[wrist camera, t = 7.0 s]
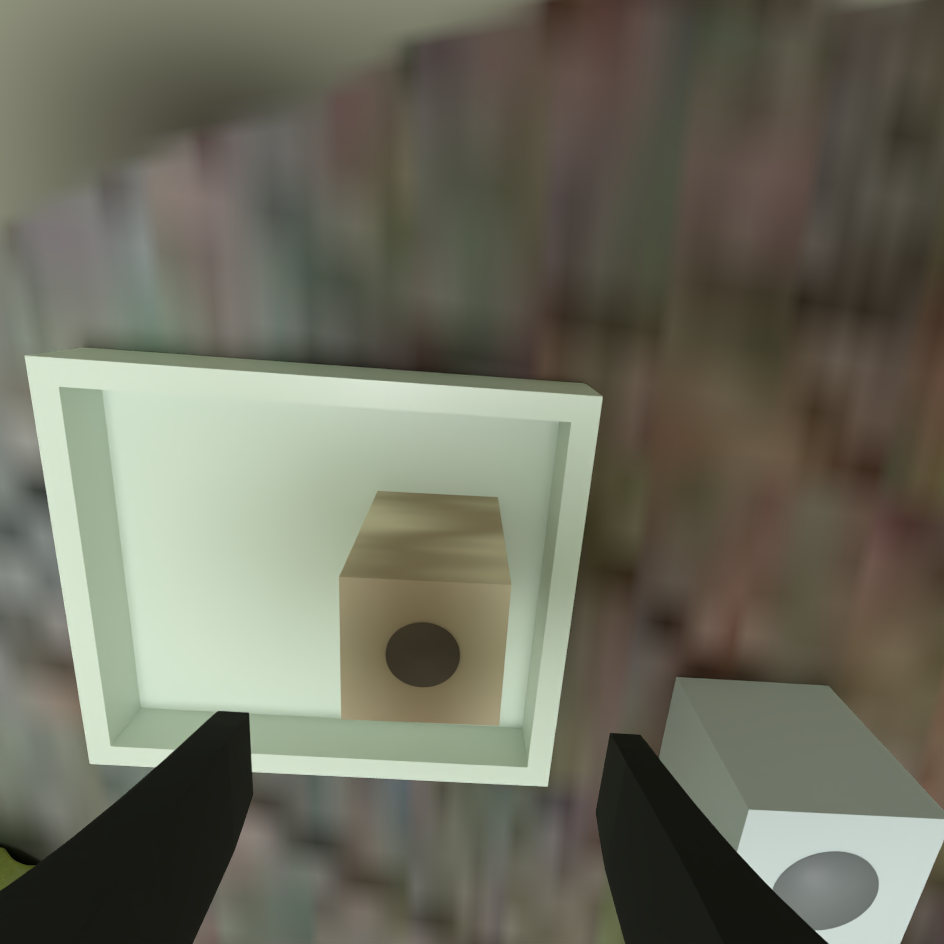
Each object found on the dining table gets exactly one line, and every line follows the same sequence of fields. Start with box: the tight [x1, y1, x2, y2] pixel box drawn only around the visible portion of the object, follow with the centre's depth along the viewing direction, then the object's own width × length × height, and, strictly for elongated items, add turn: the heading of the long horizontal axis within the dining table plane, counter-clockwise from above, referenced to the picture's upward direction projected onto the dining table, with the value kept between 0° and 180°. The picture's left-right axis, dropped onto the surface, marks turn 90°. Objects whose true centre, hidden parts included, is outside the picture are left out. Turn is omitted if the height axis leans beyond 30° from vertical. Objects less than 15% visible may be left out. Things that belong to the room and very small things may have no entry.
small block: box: [339, 491, 511, 726], centre depth 17 cm, size 4×4×6 cm
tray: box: [25, 347, 603, 787], centre depth 19 cm, size 16×14×2 cm
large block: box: [659, 677, 944, 944], centre depth 20 cm, size 6×6×6 cm
